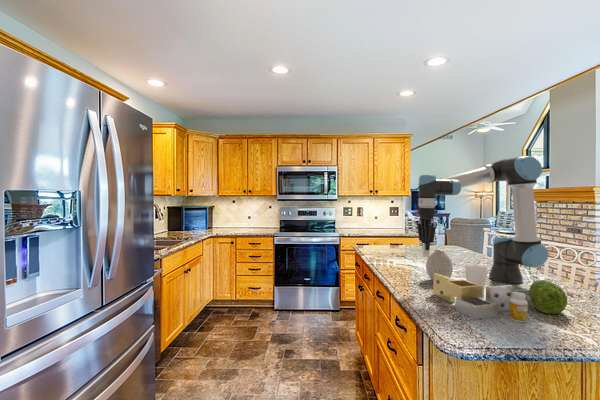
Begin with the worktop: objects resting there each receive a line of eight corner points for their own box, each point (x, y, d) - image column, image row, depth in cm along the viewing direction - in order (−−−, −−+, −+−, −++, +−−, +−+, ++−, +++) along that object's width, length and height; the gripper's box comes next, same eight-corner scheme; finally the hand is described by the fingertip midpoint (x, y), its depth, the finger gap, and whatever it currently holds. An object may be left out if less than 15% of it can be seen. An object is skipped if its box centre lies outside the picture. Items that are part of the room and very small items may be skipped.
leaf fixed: (501, 304, 130) (501, 282, 129) (523, 313, 120) (524, 289, 120) (455, 309, 124) (455, 285, 124) (475, 319, 114) (475, 293, 114)
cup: (489, 294, 143) (490, 268, 143) (468, 293, 145) (468, 267, 144) (482, 288, 152) (483, 264, 151) (462, 287, 153) (462, 263, 153)
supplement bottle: (507, 316, 118) (507, 290, 117) (523, 317, 116) (524, 291, 116) (512, 321, 112) (512, 294, 112) (529, 323, 111) (530, 296, 111)
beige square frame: (444, 293, 144) (444, 272, 144) (482, 310, 124) (482, 286, 123) (425, 294, 142) (425, 273, 142) (461, 312, 121) (461, 287, 121)
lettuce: (557, 303, 133) (558, 276, 132) (570, 319, 115) (571, 289, 114) (524, 298, 138) (524, 273, 138) (531, 313, 120) (532, 284, 120)
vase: (439, 277, 172) (440, 247, 172) (458, 283, 160) (458, 251, 160) (420, 279, 168) (421, 248, 168) (438, 285, 156) (438, 252, 156)
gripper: (411, 206, 155) (410, 254, 155) (428, 207, 142) (427, 259, 142) (424, 206, 156) (423, 253, 157) (442, 207, 144) (441, 259, 144)
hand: (425, 256), depth 150 cm, fingers closed
